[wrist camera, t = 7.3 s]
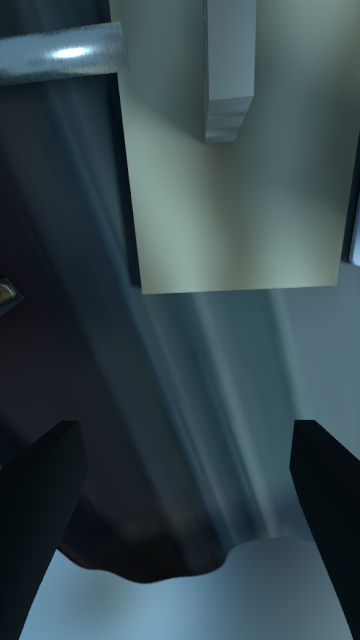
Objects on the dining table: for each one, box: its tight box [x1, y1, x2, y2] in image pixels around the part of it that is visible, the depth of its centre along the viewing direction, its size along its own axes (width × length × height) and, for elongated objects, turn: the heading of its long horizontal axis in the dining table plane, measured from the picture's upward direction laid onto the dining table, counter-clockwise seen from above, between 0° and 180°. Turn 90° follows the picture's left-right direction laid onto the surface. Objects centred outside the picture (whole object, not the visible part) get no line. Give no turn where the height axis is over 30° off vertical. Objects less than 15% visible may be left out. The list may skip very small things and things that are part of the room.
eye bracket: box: [109, 0, 360, 294], centre depth 10 cm, size 12×22×6 cm, turn 4°
